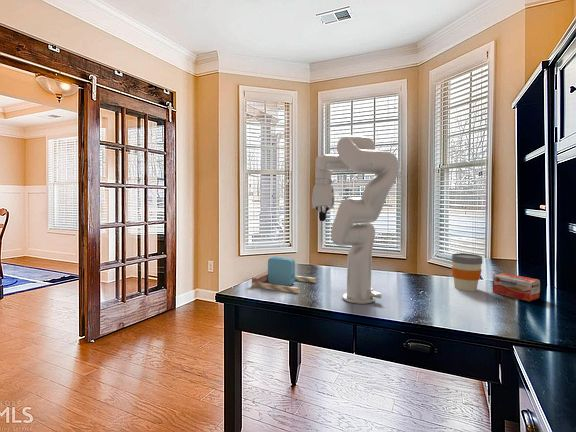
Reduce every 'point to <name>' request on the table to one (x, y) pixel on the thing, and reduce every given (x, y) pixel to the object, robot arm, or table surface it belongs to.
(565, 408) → the table surface
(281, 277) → the light blue square slab
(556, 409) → the table surface
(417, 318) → the table surface
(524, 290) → the medicine box
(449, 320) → the table surface
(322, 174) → the robot arm
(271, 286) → the guide channel
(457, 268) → the reusable coffee cup
